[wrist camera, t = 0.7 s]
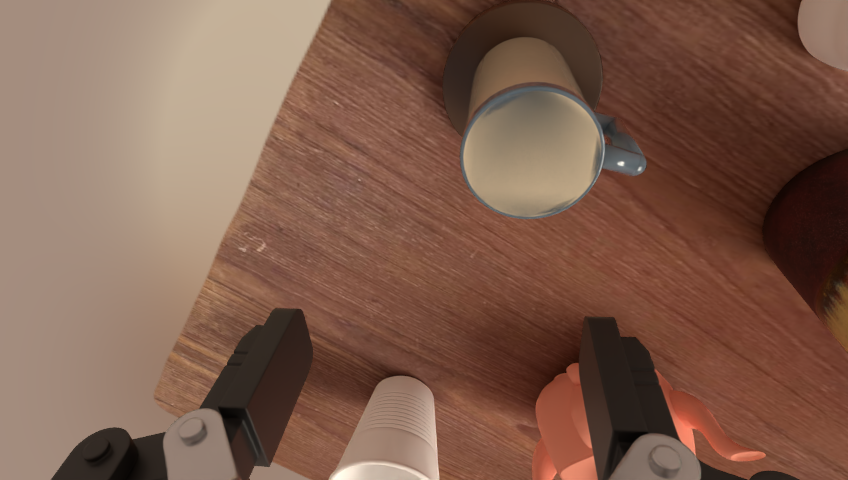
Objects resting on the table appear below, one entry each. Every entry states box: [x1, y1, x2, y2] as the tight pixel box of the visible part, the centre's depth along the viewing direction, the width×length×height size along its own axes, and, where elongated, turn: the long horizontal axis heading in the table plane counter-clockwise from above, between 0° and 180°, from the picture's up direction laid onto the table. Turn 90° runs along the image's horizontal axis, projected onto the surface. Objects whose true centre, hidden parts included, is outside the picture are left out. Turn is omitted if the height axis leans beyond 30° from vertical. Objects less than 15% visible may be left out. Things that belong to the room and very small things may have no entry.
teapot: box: [532, 363, 766, 480], centre depth 42 cm, size 14×14×11 cm
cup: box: [329, 376, 439, 480], centre depth 46 cm, size 10×10×11 cm
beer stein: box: [460, 37, 647, 219], centre depth 27 cm, size 6×9×11 cm
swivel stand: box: [442, 0, 603, 137], centre depth 32 cm, size 10×10×2 cm
